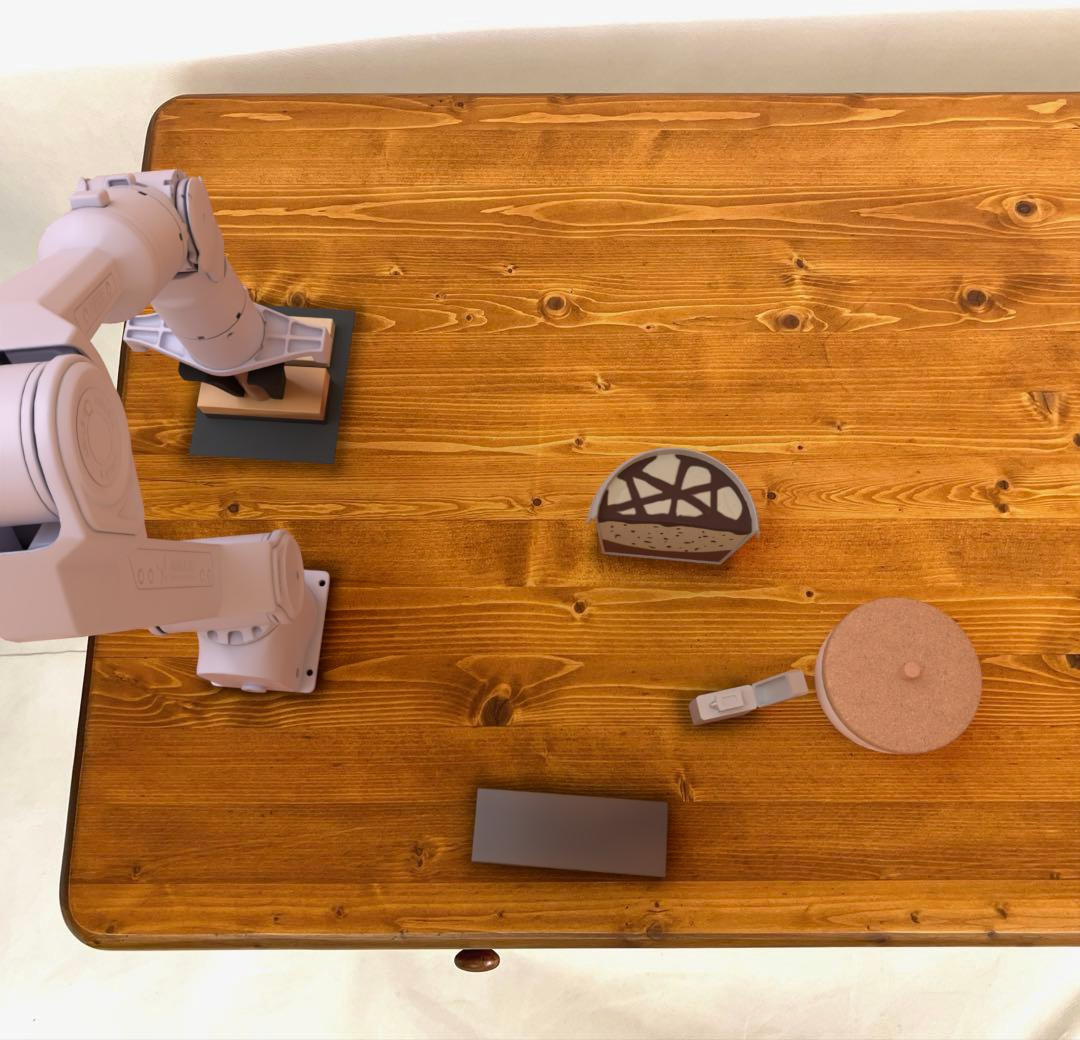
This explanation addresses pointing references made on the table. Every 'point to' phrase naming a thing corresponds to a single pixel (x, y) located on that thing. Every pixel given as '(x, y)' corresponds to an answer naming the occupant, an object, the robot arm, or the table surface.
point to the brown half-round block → (674, 508)
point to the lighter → (747, 697)
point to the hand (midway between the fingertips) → (261, 387)
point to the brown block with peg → (298, 405)
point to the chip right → (309, 359)
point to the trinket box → (898, 677)
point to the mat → (280, 436)
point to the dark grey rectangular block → (570, 832)
